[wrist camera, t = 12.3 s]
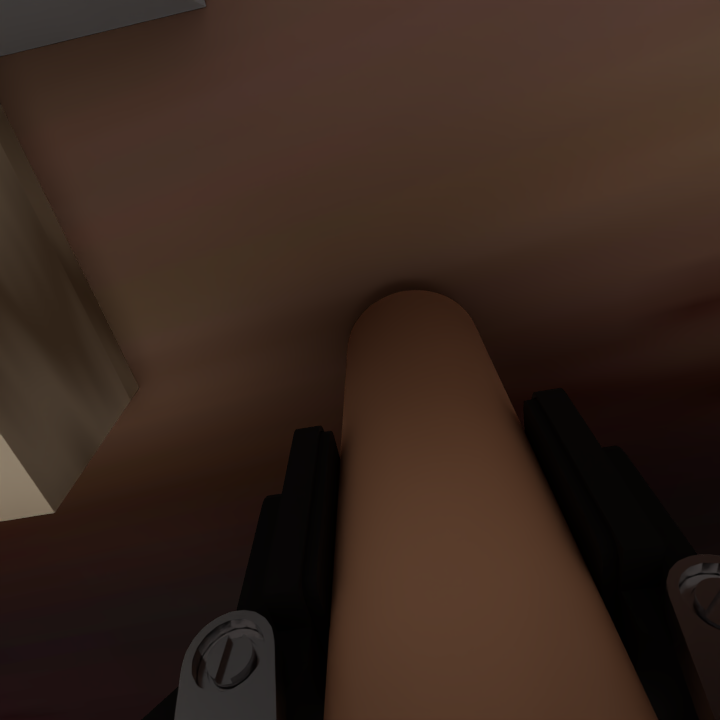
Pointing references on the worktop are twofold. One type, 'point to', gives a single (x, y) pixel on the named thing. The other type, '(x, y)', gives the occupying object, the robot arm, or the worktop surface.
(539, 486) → the dowel
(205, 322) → the worktop surface
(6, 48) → the backstop wall
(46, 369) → the socket block
